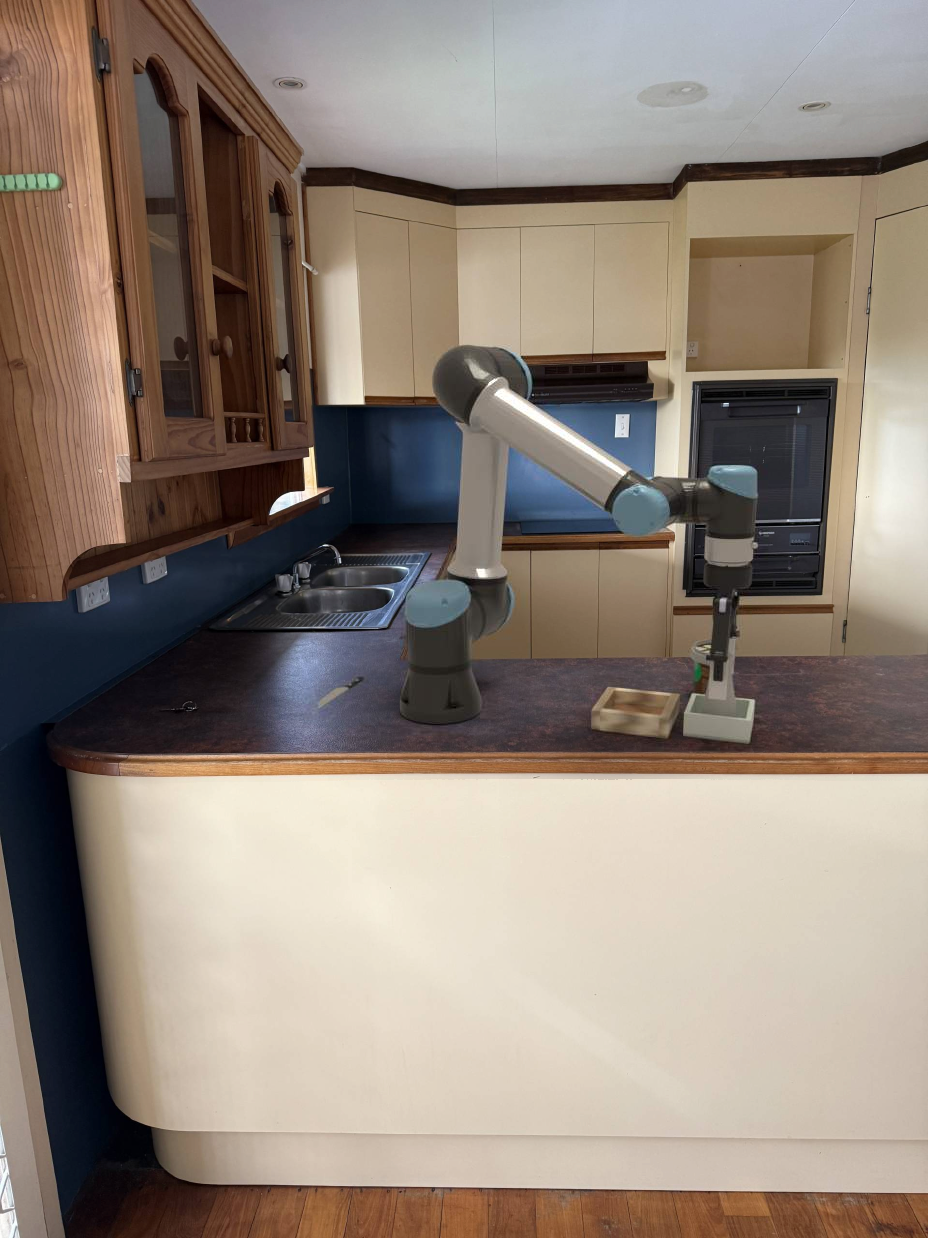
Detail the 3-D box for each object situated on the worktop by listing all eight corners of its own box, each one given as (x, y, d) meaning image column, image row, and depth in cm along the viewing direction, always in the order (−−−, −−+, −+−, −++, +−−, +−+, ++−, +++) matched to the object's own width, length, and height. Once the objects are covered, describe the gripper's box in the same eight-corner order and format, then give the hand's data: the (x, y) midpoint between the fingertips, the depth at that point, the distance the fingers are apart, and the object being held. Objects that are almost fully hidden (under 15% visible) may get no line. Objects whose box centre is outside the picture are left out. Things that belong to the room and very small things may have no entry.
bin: (682, 735, 140) (684, 713, 139) (691, 714, 150) (692, 693, 149) (749, 743, 136) (750, 720, 135) (753, 721, 146) (754, 699, 145)
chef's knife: (303, 711, 157) (316, 712, 156) (302, 705, 157) (315, 706, 156) (352, 680, 175) (365, 680, 173) (352, 674, 174) (364, 675, 173)
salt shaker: (707, 717, 147) (708, 646, 144) (740, 722, 144) (742, 649, 141) (697, 728, 142) (698, 655, 139) (731, 733, 139) (733, 658, 136)
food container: (704, 682, 166) (706, 634, 164) (734, 688, 162) (737, 639, 160) (677, 700, 157) (679, 649, 155) (708, 707, 153) (710, 654, 151)
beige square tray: (591, 729, 144) (591, 710, 143) (607, 704, 155) (608, 686, 155) (667, 739, 139) (668, 719, 138) (678, 712, 151) (679, 694, 150)
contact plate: (603, 723, 145) (603, 721, 145) (615, 705, 153) (615, 703, 153) (658, 730, 141) (658, 727, 141) (667, 711, 150) (667, 709, 149)
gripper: (747, 578, 123) (738, 713, 129) (757, 550, 146) (749, 666, 151) (695, 575, 126) (688, 707, 131) (712, 548, 148) (706, 662, 154)
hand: (721, 685), depth 141 cm, fingers open, 13 cm apart
